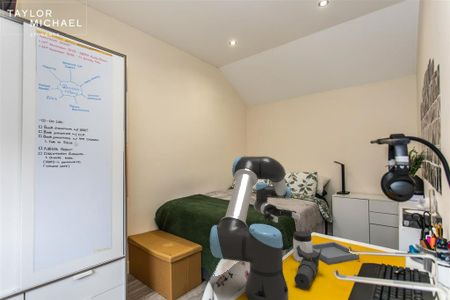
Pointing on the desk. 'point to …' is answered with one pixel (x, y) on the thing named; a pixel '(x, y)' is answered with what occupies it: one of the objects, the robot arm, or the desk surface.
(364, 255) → the desk surface
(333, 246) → the tray
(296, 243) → the jar
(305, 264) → the laser sight
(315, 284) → the desk surface
